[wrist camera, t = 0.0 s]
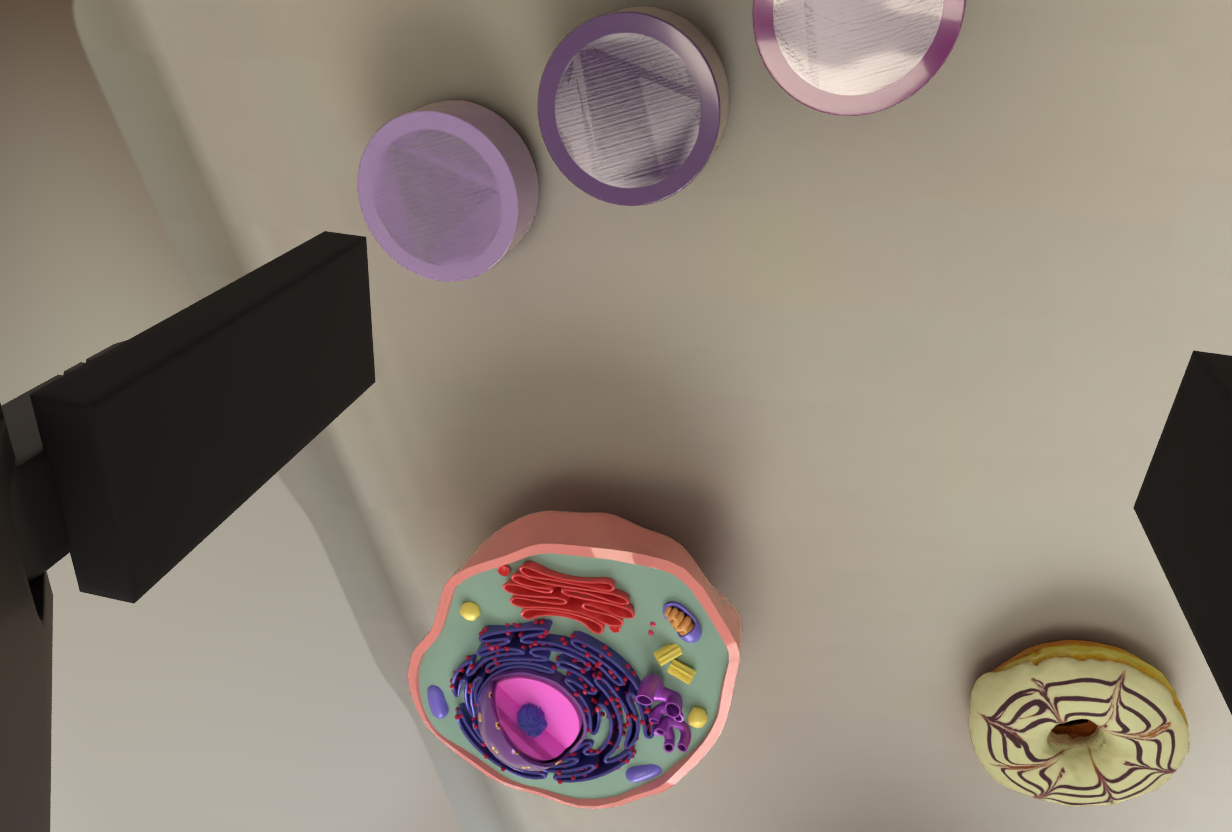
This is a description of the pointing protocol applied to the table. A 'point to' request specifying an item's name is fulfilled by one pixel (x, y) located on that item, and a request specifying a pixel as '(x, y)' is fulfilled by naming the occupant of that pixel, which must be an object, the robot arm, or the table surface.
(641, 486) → the table surface
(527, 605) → the cell model
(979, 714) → the decorated donut
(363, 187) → the dish
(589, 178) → the dish middle
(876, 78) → the dish
